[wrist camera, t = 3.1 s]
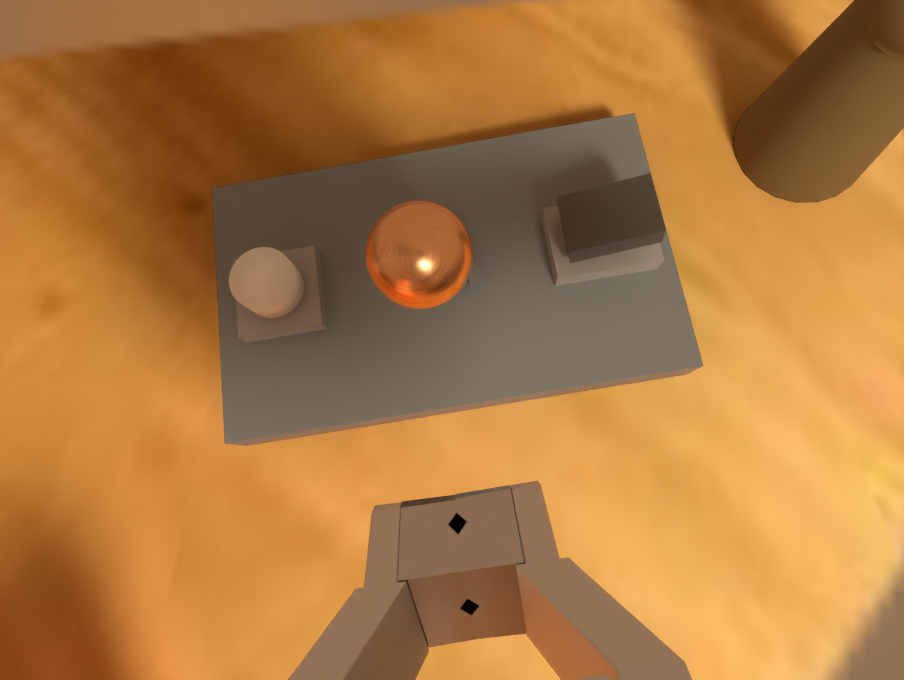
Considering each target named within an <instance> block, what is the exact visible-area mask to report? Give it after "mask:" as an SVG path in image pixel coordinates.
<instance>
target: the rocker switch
mask: <svg viewBox="0 0 904 680" xmlns="http://www.w3.org/2000/svg"><path fill="white" fill-rule="evenodd" d="M557 204H558V211H559V216H560V220H561V225H562V229H563V234H564V238H565V243H566V247H567V252H568V256H569V261H570V263H573V262H578V261H582V260H586V259H591V258H595V257H600V256H604V255H608V254H613V253H617V252H621V251H626V250H630V249H634V248H639V247H643V246H647V245H652V244H656V243H660V242H662V240H663V237H664V235H665V232H666V228H665V224H664V221H663V217H662V213H661V210H660V206H659V202H658V199H657V195H656V191H655V188H654V184H653V180H652V177H651V173H649V174H645V175H641V176H637V177H633V178H629V179H625V180H621V181H617V182H613V183H609V184H606V185H602V186H598V187H594V188H590V189H586V190H582V191H578V192H574V193H570V194H566V195H563V196H559V197H557Z"/></svg>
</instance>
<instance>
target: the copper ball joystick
mask: <svg viewBox="0 0 904 680" xmlns="http://www.w3.org/2000/svg"><path fill="white" fill-rule="evenodd" d="M472 264H473V247H472V242H471V239H470V236H469V233H468V231H467V229H466V227H465V226H464V224H463V223H462V222H461V220H460V219H459V218H458V217H457V216H456V215H455V214H454V213H452V212H451V211H450V210H448V209H447V208H445V207H443V206H441V205H439V204H436V203H433V202H428V201H409V202H405V203H402V204H399V205H397V206H395V207H393V208H391V209H389V210H388V211H387V212H385V213H384V214H383V215H382V216H381V217H380V218H379V219H378V221H377V222H376V223H375V225H374V226H373V228H372V230H371V232H370V234H369V237H368V240H367V244H366V265H367V269H368V272H369V275H370V277H371V279H372V281H373V283H374V285H375V286H376V287H377V289H378V290H379V291H380V292H381V293H382V294H383V295H384V296H385V297H386V298H388V299H389V300H390V301H392V302H394V303H395V304H398V305H400V306H403V307H406V308H411V309H429V308H433V307H437V306H439V305H442V304H444V303H446V302H448V301H449V300H451V299H452V298H453V297H454V296H456V295H457V294H458V293H459V292H460V290H461V289H462V288H463V287H464V285H465V283H466V282H467V280H468V278H469V275H470V272H471V269H472Z"/></svg>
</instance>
